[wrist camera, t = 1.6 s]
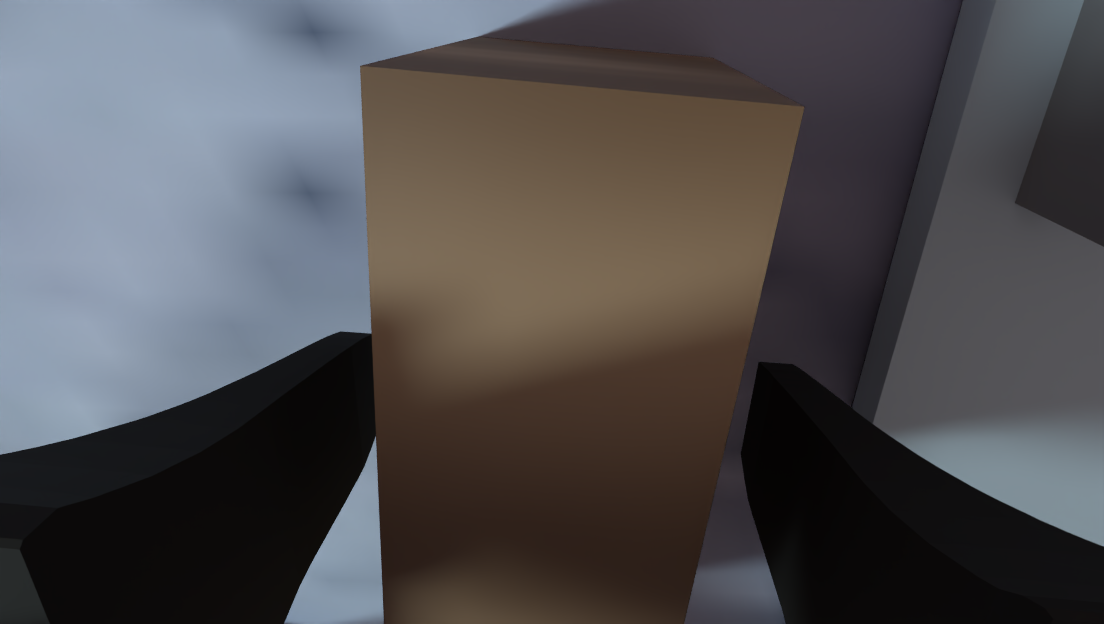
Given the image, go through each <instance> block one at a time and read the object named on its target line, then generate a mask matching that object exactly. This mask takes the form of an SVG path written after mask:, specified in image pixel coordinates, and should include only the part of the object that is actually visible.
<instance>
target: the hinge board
mask: <svg viewBox="0 0 1104 624" xmlns="http://www.w3.org/2000/svg"><path fill="white" fill-rule="evenodd" d="M852 409H854V410H855V411H856V412H857V413H859V414H860V415H861V416H863V417H864V418H865V419H867V420H868V421H870V422H871V423H872V424H874V425H875V426H876V427H878V428H879V429H881V430H882V431H883V432H885V433H886V434H888V435H889V436H891V437H892V438H894V439H895V440H897V441H898V442H900V443H901V444H903V445H904V446H906V447H907V448H908V449H910V450H911V451H913V452H914V453H916V454H917V455H919V456H921V457H922V458H924V459H925V460H927V461H929V462H930V463H932V464H934V465H935V466H937V467H939V468H940V469H942V470H944V471H946V472H947V473H949V474H951V475H953V476H954V477H956V478H958V479H960V480H961V481H963V482H965V483H967V484H969V485H970V486H972V487H974V488H976V489H978V490H980V491H982V492H983V493H985V494H987V495H989V496H991V497H993V498H995V499H997V500H999V501H1001V502H1003V503H1005V504H1008V505H1010V506H1012V507H1014V508H1016V509H1018V510H1020V511H1022V512H1024V513H1026V514H1028V515H1031V516H1033V517H1035V518H1037V519H1039V520H1041V521H1043V522H1046V523H1048V524H1050V525H1053V526H1055V527H1057V528H1060V529H1062V530H1064V531H1066V532H1069V533H1071V534H1073V535H1076V536H1078V537H1081V538H1083V539H1086V540H1088V541H1091V542H1093V543H1096V544H1098V545H1101V546H1104V0H963V2H962V6H961V10H960V13H959V17H958V21H957V24H956V28H955V32H954V35H953V39H952V43H951V46H950V50H949V54H948V57H947V61H946V65H945V68H944V72H943V76H942V79H941V83H940V87H939V90H938V94H937V98H936V101H935V105H934V109H933V112H932V116H931V120H930V123H929V127H928V131H927V134H926V138H925V142H924V145H923V149H922V153H921V156H920V160H919V164H918V167H917V171H916V175H915V178H914V182H913V186H912V189H911V193H910V197H909V200H908V204H907V208H906V211H905V215H904V219H903V222H902V226H901V230H900V234H899V237H898V241H897V245H896V248H895V252H894V256H893V259H892V263H891V267H890V270H889V274H888V278H887V281H886V285H885V289H884V292H883V296H882V300H881V303H880V307H879V311H878V314H877V318H876V322H875V325H874V329H873V333H872V336H871V340H870V344H869V347H868V351H867V355H866V358H865V362H864V366H863V369H862V373H861V377H860V380H859V384H858V388H857V391H856V395H855V399H854V402H853V406H852Z"/></svg>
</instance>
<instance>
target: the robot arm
mask: <svg viewBox="0 0 1104 624" xmlns="http://www.w3.org/2000/svg"><path fill="white" fill-rule="evenodd" d="M375 437H376V423H375V400H374V376H373V353H372V334H367V333H354V332H338V333H335V334H332V335H330V336H328V337H325V338H323V339H321V340H319V341H317V342H315V343H313V344H311V345H309V346H307V347H305V348H303V349H301V350H299V351H297V352H295V353H293V354H291V355H289V356H287V357H285V358H283V359H281V360H279V361H277V362H275V363H273V364H271V365H269V366H267V367H265V368H263V369H261V370H259V371H257V372H255V373H252V374H250V375H248V376H246V377H244V378H242V379H239V380H237V381H235V382H233V383H231V384H228V385H226V386H224V387H222V388H220V389H217V390H215V391H213V392H211V393H209V394H206V395H204V396H201V397H199V398H197V399H194V400H192V401H189V402H187V403H184V404H181V405H179V406H176V407H173V408H170V409H168V410H165V411H162V412H159V413H157V414H154V415H151V416H148V417H145V418H142V419H139V420H136V421H132V422H129V423H126V424H122V425H119V426H115V427H112V428H108V429H105V430H101V431H98V432H95V433H91V434H88V435H84V436H81V437H77V438H73V439H69V440H65V441H61V442H57V443H53V444H48V445H44V446H40V447H36V448H31V449H26V450H21V451H17V452H12V453H7V454H2V455H0V624H284V622H285V620H286V617H287V615H288V613H289V610H290V608H291V605H292V603H293V601H294V598H295V596H296V594H297V591H298V589H299V587H300V585H301V583H302V581H303V579H304V577H305V575H306V573H307V571H308V569H309V566H310V564H311V563H312V561H313V559H314V557H315V555H316V554H317V552H318V550H319V548H320V546H321V545H322V543H323V541H324V539H325V538H326V536H327V534H328V532H329V530H330V529H331V527H332V525H333V523H334V521H335V520H336V518H337V516H338V514H339V512H340V511H341V509H342V507H343V505H344V503H345V502H346V500H347V498H348V496H349V494H350V492H351V491H352V489H353V487H354V485H355V483H356V481H357V480H358V478H359V476H360V474H361V472H362V470H363V468H364V466H365V463H366V461H367V458H368V456H369V453H370V451H371V448H372V445H373V442H374V439H375ZM741 458H742V465H743V472H744V479H745V484H746V490H747V496H748V501H749V505H750V508H751V511H752V515H753V518H754V521H755V525H756V528H757V531H758V534H759V538H760V541H761V544H762V547H763V550H764V553H765V557H766V560H767V563H768V566H769V569H770V572H771V576H772V579H773V582H774V585H775V588H776V591H777V595H778V598H779V601H780V604H781V607H782V611H783V615H784V618H785V622H786V624H1104V546H1101V545H1098V544H1096V543H1093V542H1091V541H1088V540H1086V539H1083V538H1081V537H1078V536H1076V535H1073V534H1071V533H1069V532H1066V531H1064V530H1062V529H1060V528H1057V527H1055V526H1053V525H1050V524H1048V523H1046V522H1043V521H1041V520H1039V519H1037V518H1035V517H1033V516H1031V515H1028V514H1026V513H1024V512H1022V511H1020V510H1018V509H1016V508H1014V507H1012V506H1010V505H1008V504H1005V503H1003V502H1001V501H999V500H997V499H995V498H993V497H991V496H989V495H987V494H985V493H983V492H982V491H980V490H978V489H976V488H974V487H972V486H970V485H969V484H967V483H965V482H963V481H961V480H960V479H958V478H956V477H954V476H953V475H951V474H949V473H947V472H946V471H944V470H942V469H940V468H939V467H937V466H935V465H934V464H932V463H930V462H929V461H927V460H925V459H924V458H922V457H921V456H919V455H917V454H916V453H914V452H913V451H911V450H910V449H908V448H907V447H906V446H904V445H903V444H901V443H900V442H898V441H897V440H895V439H894V438H892V437H891V436H889V435H888V434H886V433H885V432H883V431H882V430H881V429H879V428H878V427H876V426H875V425H874V424H872V423H871V422H870V421H868V420H867V419H865V418H864V417H863V416H861V415H860V414H859V413H857V412H856V411H855V410H854V409H852V408H851V407H850V406H848V405H847V404H846V403H844V402H843V401H842V400H840V399H839V398H838V397H837V396H835V395H834V394H833V393H831V392H830V391H829V390H828V389H826V388H825V387H824V386H823V385H821V384H820V383H819V382H817V381H816V380H815V379H813V378H812V377H811V376H809V375H808V374H807V373H805V372H804V371H803V370H801V369H800V368H798V367H796V366H795V365H793V364H781V363H768V362H759V363H758V368H757V374H756V379H755V384H754V389H753V394H752V399H751V404H750V409H749V414H748V420H747V425H746V430H745V435H744V440H743V445H742V450H741Z"/></svg>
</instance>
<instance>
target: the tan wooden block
mask: <svg viewBox="0 0 1104 624" xmlns="http://www.w3.org/2000/svg"><path fill="white" fill-rule="evenodd" d="M360 73H361V97H362V120H363V143H364V167H365V190H366V213H367V237H368V260H369V283H370V306H371V330H372V353H373V376H374V400H375V423H376V446H377V470H378V493H379V516H380V540H381V563H382V586H383V610H384V624H684V621H685V617H686V613H687V608H688V604H689V600H690V596H691V591H692V587H693V583H694V578H695V574H696V570H697V566H698V561H699V557H700V553H701V548H702V544H703V540H704V536H705V531H706V527H707V523H708V518H709V514H710V510H711V506H712V501H713V497H714V493H715V488H716V484H717V480H718V476H719V471H720V467H721V463H722V458H723V454H724V450H725V446H726V441H727V437H728V433H729V428H730V424H731V420H732V416H733V411H734V407H735V403H736V398H737V394H738V390H739V386H740V381H741V377H742V373H743V368H744V364H745V360H746V356H747V351H748V347H749V343H750V338H751V334H752V330H753V326H754V321H755V317H756V313H757V308H758V304H759V300H760V296H761V291H762V287H763V283H764V278H765V274H766V270H767V266H768V261H769V257H770V253H771V248H772V244H773V240H774V236H775V231H776V227H777V223H778V218H779V214H780V210H781V206H782V201H783V197H784V193H785V188H786V184H787V180H788V176H789V171H790V167H791V163H792V158H793V154H794V150H795V146H796V141H797V137H798V133H799V128H800V124H801V120H802V116H803V111H804V106H802V105H800V104H798V103H796V102H795V101H793V100H791V99H789V98H787V97H785V96H783V95H782V94H780V93H778V92H776V91H774V90H772V89H770V88H768V87H767V86H765V85H763V84H761V83H759V82H757V81H755V80H754V79H752V78H750V77H748V76H746V75H744V74H742V73H741V72H739V71H737V70H735V69H733V68H731V67H729V66H727V65H726V64H724V63H722V62H720V61H718V60H716V59H714V58H710V57H699V56H688V55H676V54H665V53H654V52H643V51H632V50H621V49H609V48H598V47H587V46H576V45H565V44H554V43H542V42H531V41H520V40H509V39H498V38H487V37H475V38H471V39H467V40H463V41H459V42H455V43H451V44H447V45H443V46H438V47H434V48H430V49H426V50H422V51H418V52H414V53H410V54H406V55H402V56H398V57H394V58H390V59H386V60H382V61H378V62H374V63H370V64H366V65H362V66H360Z"/></svg>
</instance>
